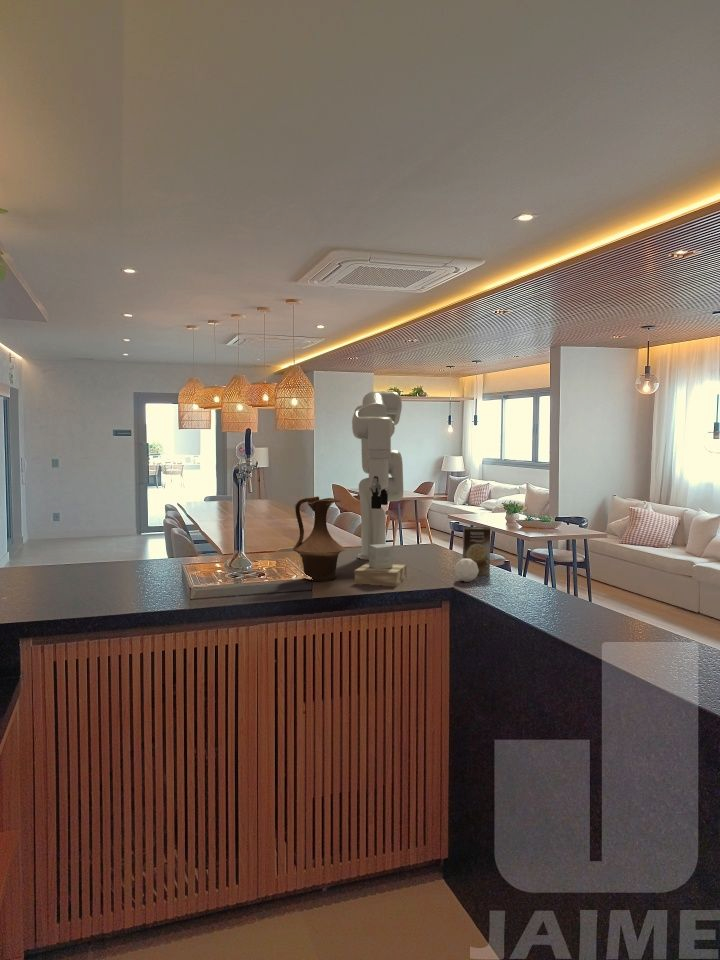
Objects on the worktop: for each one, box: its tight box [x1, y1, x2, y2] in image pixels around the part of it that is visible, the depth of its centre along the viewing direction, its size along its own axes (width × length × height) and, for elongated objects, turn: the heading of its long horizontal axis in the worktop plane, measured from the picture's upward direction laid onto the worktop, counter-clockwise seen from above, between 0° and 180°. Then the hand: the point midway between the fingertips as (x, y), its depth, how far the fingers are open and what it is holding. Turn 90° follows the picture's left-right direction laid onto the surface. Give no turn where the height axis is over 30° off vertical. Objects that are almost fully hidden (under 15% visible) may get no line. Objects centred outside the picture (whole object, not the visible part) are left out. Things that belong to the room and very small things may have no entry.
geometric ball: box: [454, 557, 479, 583], centre depth 225 cm, size 8×8×8 cm
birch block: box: [354, 562, 407, 587], centre depth 227 cm, size 14×14×5 cm
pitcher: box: [292, 496, 346, 582], centre depth 231 cm, size 18×17×28 cm
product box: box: [368, 544, 394, 570], centre depth 227 cm, size 6×6×7 cm
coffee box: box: [462, 526, 491, 576], centre depth 237 cm, size 9×6×16 cm
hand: (379, 506), depth 226 cm, fingers open, 9 cm apart
